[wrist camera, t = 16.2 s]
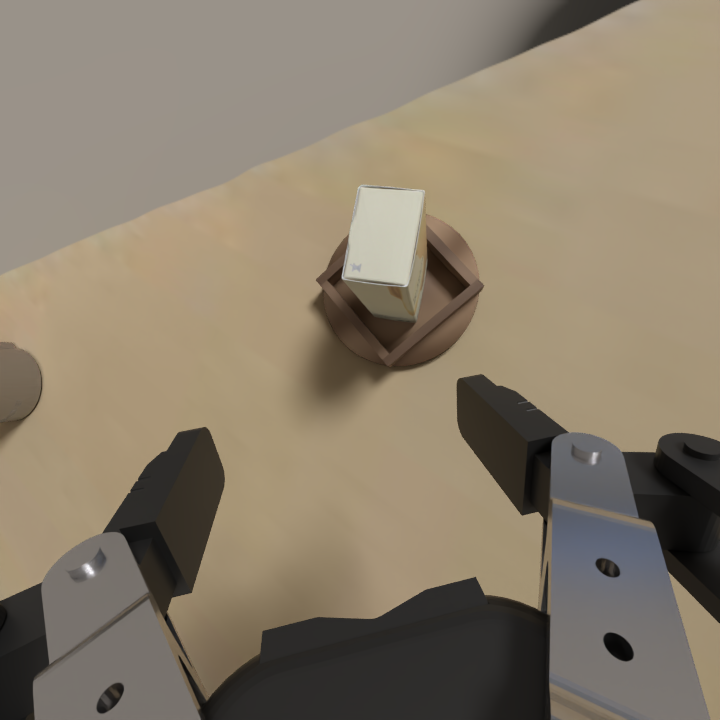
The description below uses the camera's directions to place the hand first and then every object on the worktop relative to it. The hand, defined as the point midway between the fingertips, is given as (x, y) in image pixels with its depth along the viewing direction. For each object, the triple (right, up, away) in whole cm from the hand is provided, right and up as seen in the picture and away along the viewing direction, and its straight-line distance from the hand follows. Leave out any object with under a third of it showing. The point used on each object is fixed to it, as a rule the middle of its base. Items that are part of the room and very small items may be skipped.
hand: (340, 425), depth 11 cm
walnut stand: (+4, +9, +22) cm, 24 cm away
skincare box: (+5, +9, +21) cm, 24 cm away
